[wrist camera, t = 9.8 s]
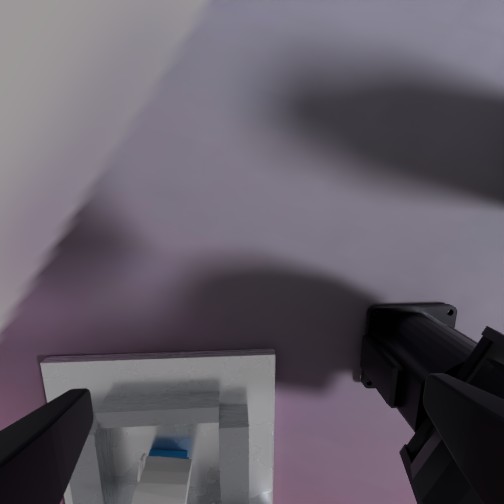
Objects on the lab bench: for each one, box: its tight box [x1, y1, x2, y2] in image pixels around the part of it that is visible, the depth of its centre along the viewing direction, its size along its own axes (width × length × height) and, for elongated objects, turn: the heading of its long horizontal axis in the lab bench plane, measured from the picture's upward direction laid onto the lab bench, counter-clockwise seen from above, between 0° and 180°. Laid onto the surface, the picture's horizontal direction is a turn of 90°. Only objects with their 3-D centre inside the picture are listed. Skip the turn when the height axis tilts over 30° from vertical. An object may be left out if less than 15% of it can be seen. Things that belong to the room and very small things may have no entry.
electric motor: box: [131, 449, 192, 504], centre depth 19 cm, size 7×5×5 cm
